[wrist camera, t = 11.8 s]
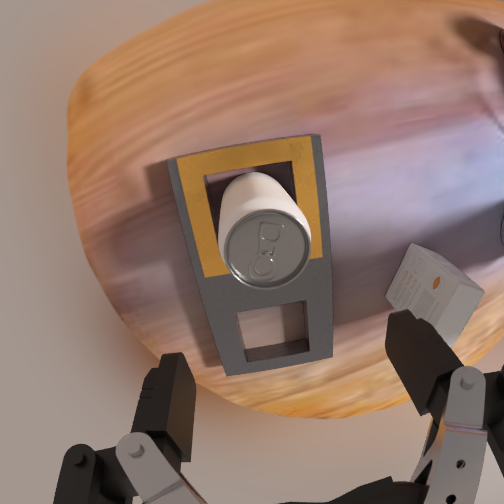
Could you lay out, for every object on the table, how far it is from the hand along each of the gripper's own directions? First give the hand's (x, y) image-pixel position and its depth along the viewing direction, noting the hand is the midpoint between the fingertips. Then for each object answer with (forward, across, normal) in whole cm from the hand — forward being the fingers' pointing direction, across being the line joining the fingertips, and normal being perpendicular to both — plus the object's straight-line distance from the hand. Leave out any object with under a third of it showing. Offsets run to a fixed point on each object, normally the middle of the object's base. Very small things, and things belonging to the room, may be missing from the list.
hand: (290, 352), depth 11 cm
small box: (+21, -19, +12) cm, 31 cm away
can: (+21, 0, 0) cm, 21 cm away
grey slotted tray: (+21, 0, +7) cm, 22 cm away
